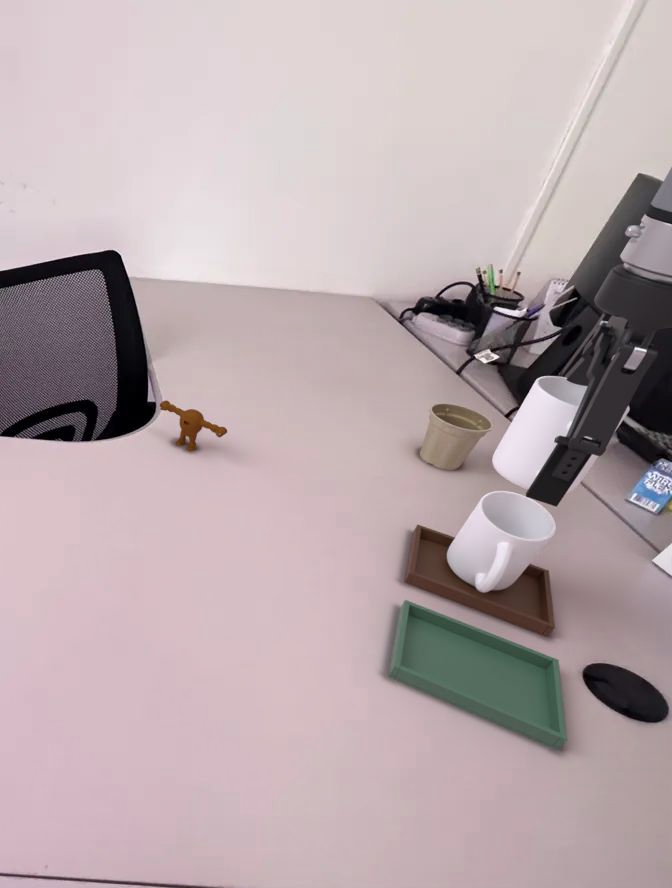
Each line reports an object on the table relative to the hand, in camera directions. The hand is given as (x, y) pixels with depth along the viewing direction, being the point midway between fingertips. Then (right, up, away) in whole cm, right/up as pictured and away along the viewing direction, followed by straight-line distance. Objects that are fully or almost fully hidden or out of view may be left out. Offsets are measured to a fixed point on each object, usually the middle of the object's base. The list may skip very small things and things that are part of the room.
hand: (539, 472), depth 72 cm
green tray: (-6, -23, +3) cm, 23 cm away
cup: (0, -1, +1) cm, 2 cm away
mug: (+4, -14, +16) cm, 21 cm away
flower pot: (+14, +2, +42) cm, 44 cm away
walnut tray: (+3, -14, +16) cm, 22 cm away
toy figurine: (-30, +4, +38) cm, 48 cm away
